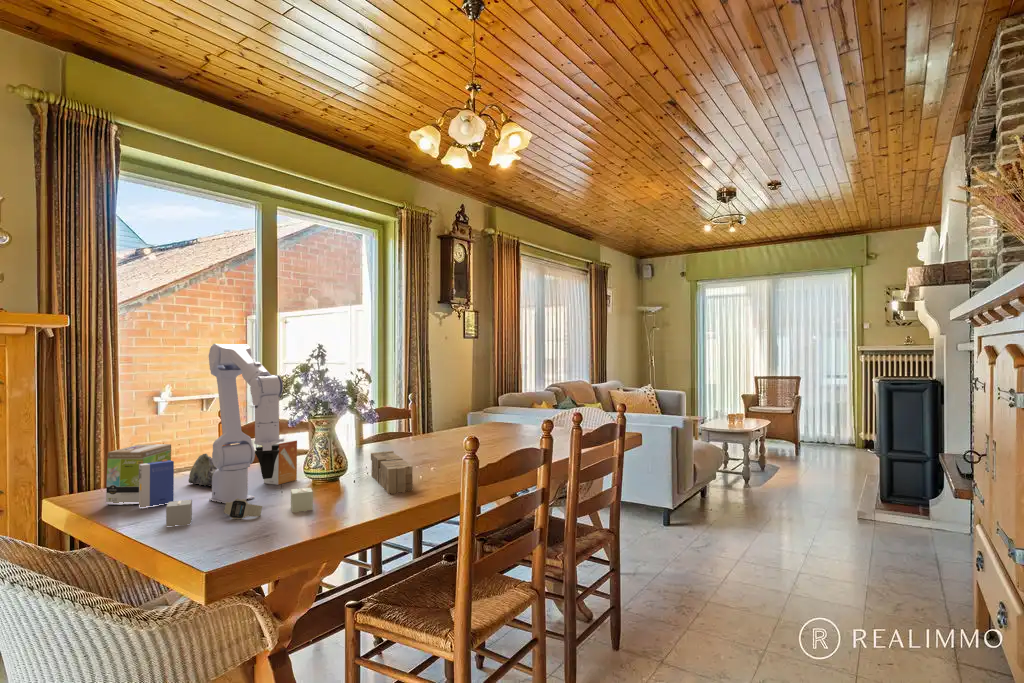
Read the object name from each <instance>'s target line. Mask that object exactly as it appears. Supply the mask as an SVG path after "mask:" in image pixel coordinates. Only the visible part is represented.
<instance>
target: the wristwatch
mask: <svg viewBox="0 0 1024 683" xmlns="http://www.w3.org/2000/svg"><path fill="white" fill-rule="evenodd" d="M262 509H263V505H257V504H252V503H249V502H247V500H245V499H244V500H240V499H238V498H237V499H236V500H235V501H233V502H226V503H225V506H224V511H223V513H224V514H226V515H227V516H229V517H231V518H230V519H231V520H238V519H241V520H243V519H244V518H247V517H261V515H262Z"/></svg>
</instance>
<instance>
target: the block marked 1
mask: <svg viewBox="0 0 1024 683" xmlns="http://www.w3.org/2000/svg"><path fill="white" fill-rule="evenodd" d="M165 508H166V509H165V513H166V514H165V523H166V524H165V527H166V526H175V525H184V526H188V525H187V524H190V523H191V524H192V521H191V520H193V500H192V499H184V500H173V502H168V504H167V505H165ZM191 524H190V525H191Z"/></svg>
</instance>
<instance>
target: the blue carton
mask: <svg viewBox="0 0 1024 683" xmlns="http://www.w3.org/2000/svg"><path fill="white" fill-rule="evenodd" d="M174 464H175V462H174V460H172V459H171V460H168V461H167V459H166V460H162V461H160V462H152V463H145V464H139V505H140V507H146V506H153V505H159V504H165V503H168V502H173V501H175V499H174V498H175V497H174V495H175V494H174V490H175V489H174V488H175V487H174V486H175V484H174V482H175V480H174V479H175V478H174V477H175V471H174V470H175V468H174V467H175V465H174ZM139 505H138V506H139Z"/></svg>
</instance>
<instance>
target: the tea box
mask: <svg viewBox="0 0 1024 683" xmlns="http://www.w3.org/2000/svg"><path fill="white" fill-rule="evenodd" d="M166 459H167V461H168V460H171V461H172V444H171V443H169V444H168V443H167V444H166V443H165V444H164V443H163V444H162V443H160V444H157V443H156V444H153V443H152V444H151V443H148V444H136V445H133V446H132V445H131V446H128V447H123V448H120V449H116V450H112V451H111V450H110V451H108V452H107V462H106V463H107V466H106V492H105V503H106V502H113V503H119V502H123V503H124V502H139V464H145V463H152V462H160V461H162V460H166Z"/></svg>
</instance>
